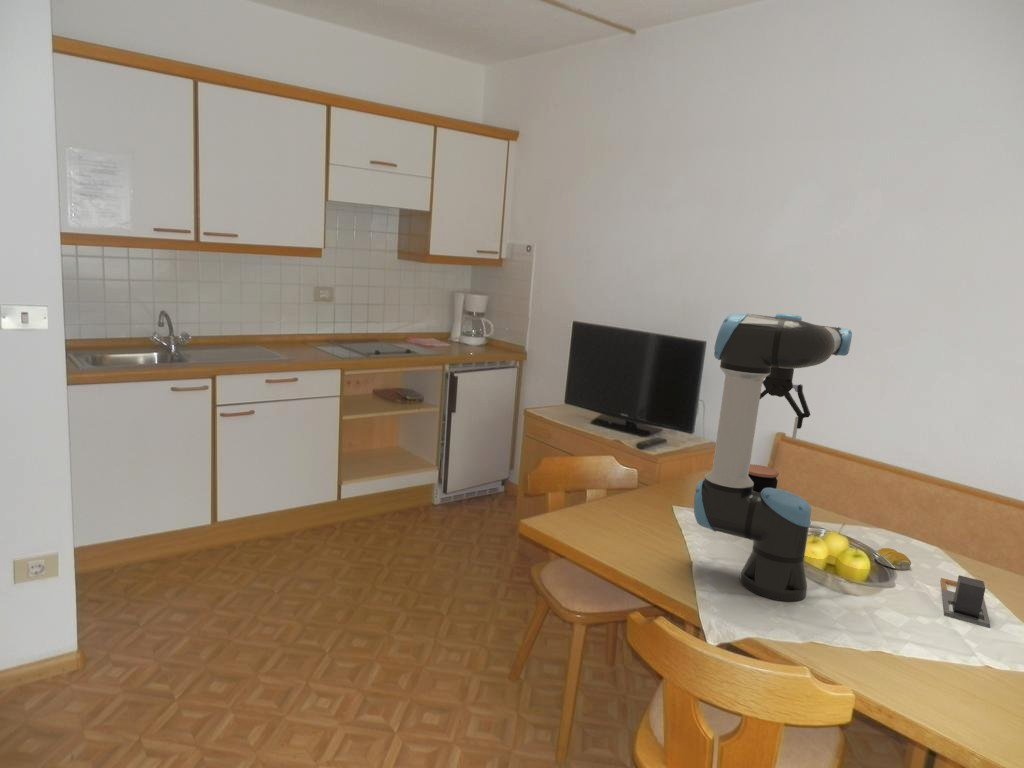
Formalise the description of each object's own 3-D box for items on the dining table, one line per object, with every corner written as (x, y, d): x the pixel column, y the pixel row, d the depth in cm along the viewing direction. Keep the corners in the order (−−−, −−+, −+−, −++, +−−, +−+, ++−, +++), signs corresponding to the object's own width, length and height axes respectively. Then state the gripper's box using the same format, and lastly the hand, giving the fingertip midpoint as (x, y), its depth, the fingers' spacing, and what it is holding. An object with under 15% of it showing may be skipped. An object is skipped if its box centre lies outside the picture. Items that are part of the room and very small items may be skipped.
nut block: (978, 620, 165) (985, 588, 163) (953, 614, 167) (959, 582, 166) (976, 612, 169) (983, 581, 168) (952, 606, 171) (958, 575, 170)
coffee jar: (763, 536, 208) (772, 476, 205) (727, 525, 214) (736, 468, 211) (774, 527, 216) (783, 470, 213) (740, 517, 222) (748, 462, 219)
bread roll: (891, 557, 201) (893, 543, 200) (915, 571, 192) (918, 557, 192) (866, 557, 199) (868, 543, 198) (889, 571, 190) (892, 557, 190)
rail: (989, 627, 161) (990, 624, 161) (944, 615, 166) (944, 612, 166) (980, 590, 182) (981, 587, 182) (940, 580, 187) (940, 577, 186)
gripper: (827, 370, 210) (815, 440, 214) (740, 358, 222) (731, 424, 225) (824, 372, 204) (812, 444, 207) (736, 360, 215) (726, 428, 219)
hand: (770, 434), depth 216 cm, fingers open, 13 cm apart
